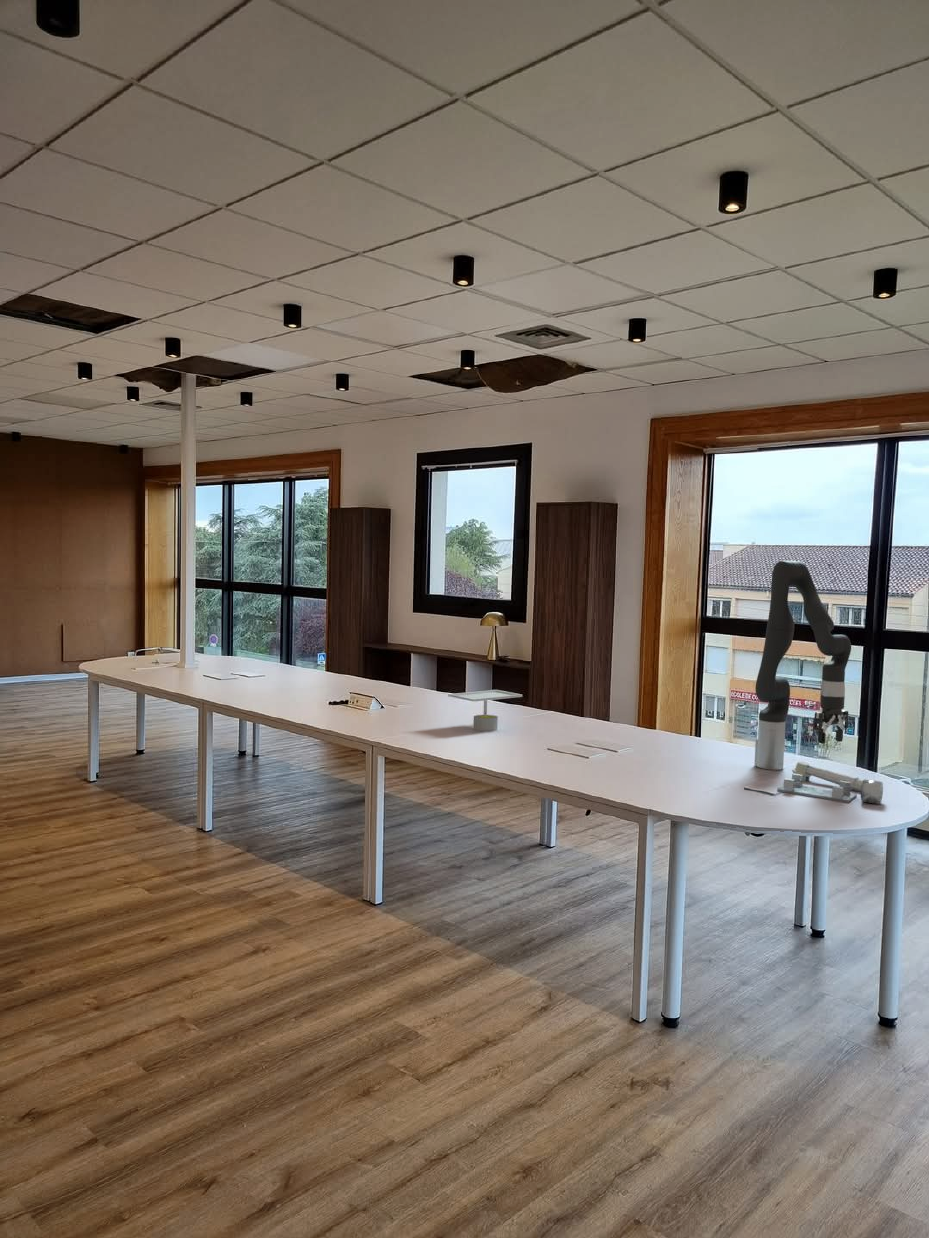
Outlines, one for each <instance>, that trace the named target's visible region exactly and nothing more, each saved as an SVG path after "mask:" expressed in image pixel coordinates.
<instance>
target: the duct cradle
mask: <svg viewBox="0 0 929 1238" xmlns="http://www.w3.org/2000/svg"><path fill="white" fill-rule="evenodd" d="M862 780H863V782H862V786H861V792H860V801H861V802H862V803H868V804H875V805H881V803H882V800H883V794H884V784H883V782H882V781H880V780H879V781H878V780H872V779H862ZM803 782H804V781H803V775H800V774H793V773H792V776H791V778H784V779H783V784H782V785H781V786H780V787H778V788H776V791H777V792H780V793H785V794H792V795H799V796H804V797H810V798H815V799H816V798H817V799H820V800H821V799H822V800H828V801H835V802H840V803H847V804H849V803H851V802H852V801H853V800H854V799H856V798H857V797H858V794H857V793H852V792H851V789H850V787H851V782H846V781H840V785H839V786H836V785H833V786H832V789H829V788H821V787H816V786H815V787H814V786H808V785H804V784H803Z"/></svg>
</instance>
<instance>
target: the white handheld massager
mask: <svg viewBox="0 0 929 1238" xmlns="http://www.w3.org/2000/svg"><path fill="white" fill-rule="evenodd" d="M791 771H792V774H800V775H803V781H802V782H809V781H810V777H815V778H817V779H820V780H824V781H826V782H829V783H833V784H836V785H839V786H840V781H846V782H851V787H850V790H851V791H856V792H860V793H861V786H862V782H863V780H864V779H860V778H859V777H853V776H850V775H847V774H846V775H845V774H842V773H838V772H835V771H830V770H828V769H823V768H821V767H816V766H812V765H810V764H809V763H808V762H804V761H797V763H796V765H795V767H794V768H792V770H791Z"/></svg>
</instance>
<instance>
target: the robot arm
mask: <svg viewBox="0 0 929 1238" xmlns="http://www.w3.org/2000/svg"><path fill="white" fill-rule="evenodd" d="M772 569H773V570H772V572H771V584H770V585H771V589H770V601H769V613H768V618H767V624H766V631H765V639H764V644H763V645H764V646H763V651H762V656H761V657H762V658H761V661H760V666H759V670H758V674H757V677H756V680H755V681H756V682H755V686H754V687H755V690H754V691H755V696H756V697H757V700H759V701H760V702H762V703H768V705H767V706H766V707H765V708H763V709H762V710H760V711H759V713H758V727H757V728H758V729H757V730H758V732H757V738H756V739H755V744H754V766H756V767H758V768H759V769H764V770H769V771H770V770H773V771H774V770H775V771H778V770H779V771H781V770H783V769H784V761H785V760H784V758H785V738H786V723H787V722H786V719H787V716H788V714H789V709H790V708H789V707H790V697H791V686H790V683H789V681H788V679H787V678H786V677H785V676H783V675H782V676H781V675H777V671H778V669H779V665H780V664H781V662H782V659H783V658H784V656H785V655H786V654H787V652H788V651H789V649H790V647H791V646H792V643H793V638H794V633H795V620H794V617H793V615H792V611H791V609H790V606H789V601H788V600H789V591H790V588H796V589H797V590H798V592H799V593H800V594H801V596H802V601H803V615H804V617H805V619H806V621H807V623H808V625H809V626H810V628H811V629H812V631H813V635H814V638H815V642H816V643H815V644H816V646H817V648H818V650H819V652H821V653H822V655H823V656H825V657H831V659H830V661H828V662H826V663H824V664H823V666H822V670H821V671H822V672H821V673H822V674H821V676H822V677H821V685H820V696H819V697H820V698H819V707H820V708H821V710H822V711H821V712H818V711H815V712H814V719H813V730H814V731H817V735H818V736H817V742H818V743H819V744H823V745H824V744H826V735H827V734H826V732H827V729H828V728H829V727H830V726H832V725H834V727H835V728H836V730H835V742H840V743H841V742H843V739H844V731H845V729H848V728H849V710H845V699H846V698H845V697H846V693H845V692H846V687H845V686H846V685H845V684H846V682H845V681H846V678H845V677H846V676H845V675H846V669H847V665H848V662H849V658H850V656H851V652H852V643H851V640H850V638H849V637H848V636H847V635H846V634H832V633H831V632H832V631H833V630H834V628H835V623H834V621H833V619H832V617H831V616H830V614H829V613H828V611H827V610H826V607H825V606H824V604H823V603H822V601H821V598H820V596H819V594H818V591H817V589H816V586H815V584H814V580H813V578H812V576H811V574H810V571H809V568H808V567H807V565H806V564H805V563H804V562H802V561H799V560H779V561H778V562H777V563H776V564H775V565H774V567H773V568H772Z"/></svg>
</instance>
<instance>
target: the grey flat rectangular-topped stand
mask: <svg viewBox="0 0 929 1238" xmlns="http://www.w3.org/2000/svg"><path fill="white" fill-rule="evenodd" d="M447 694H448V695H447V697H450V698H454V699H455V698H456V699H460V700H465V701H470V702H474V703H475V702H483V714H477V715H473V725H472V726H473V730H474V731H477V732H494V731H498V726H499V725H498V722H499V720H498V718H499V716H498V715H495V714H494V715H493V714H488V701H492V700H502V699H503V700H504V699H513V698H521V697H522V698H523V694H520V693H515V692H512V691H511V692H510V691H505V690H499V689H489V690H481V691H479V690H478V691H469V692H468V691H467V692H458V693H447Z"/></svg>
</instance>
